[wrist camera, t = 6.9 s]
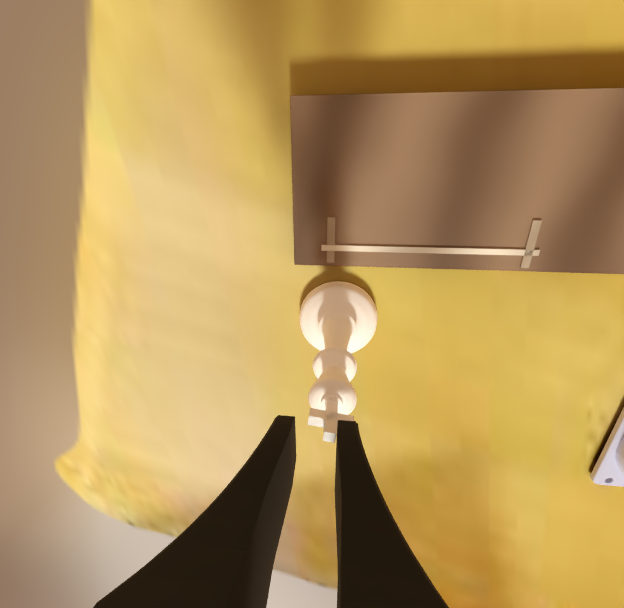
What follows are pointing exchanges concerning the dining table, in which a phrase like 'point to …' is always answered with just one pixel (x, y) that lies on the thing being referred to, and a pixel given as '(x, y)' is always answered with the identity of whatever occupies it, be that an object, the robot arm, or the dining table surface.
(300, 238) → the walnut board
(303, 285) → the dining table surface
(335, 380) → the chess piece
